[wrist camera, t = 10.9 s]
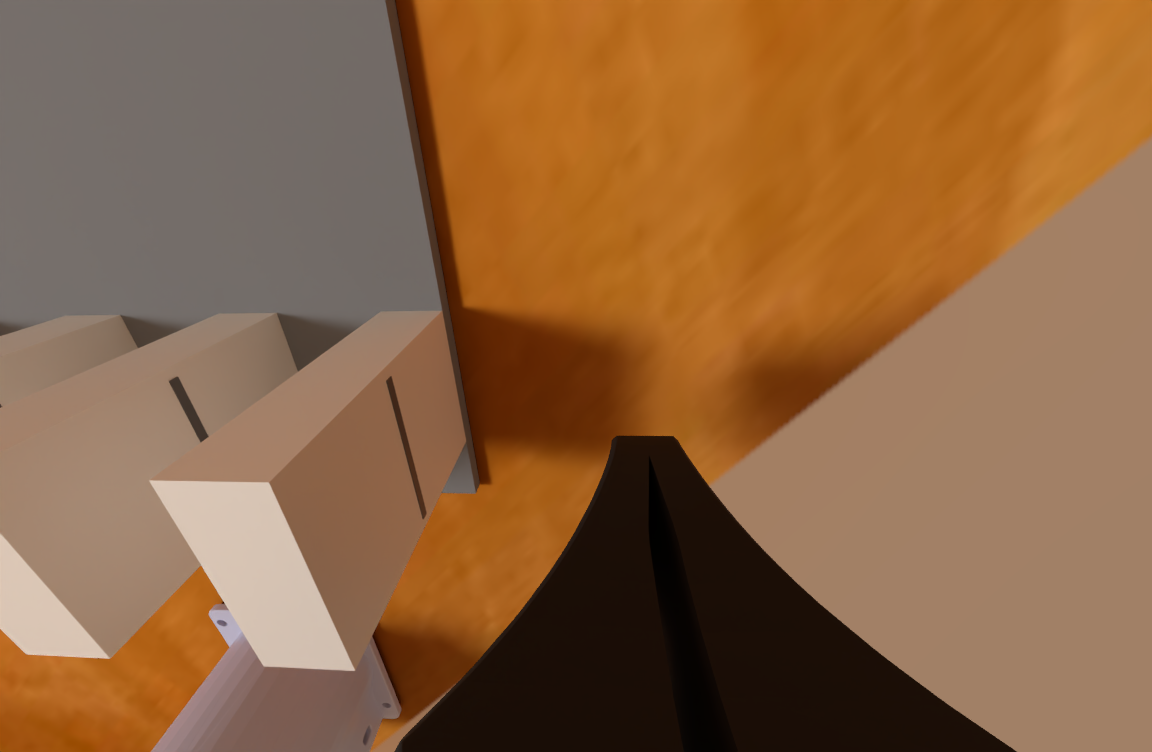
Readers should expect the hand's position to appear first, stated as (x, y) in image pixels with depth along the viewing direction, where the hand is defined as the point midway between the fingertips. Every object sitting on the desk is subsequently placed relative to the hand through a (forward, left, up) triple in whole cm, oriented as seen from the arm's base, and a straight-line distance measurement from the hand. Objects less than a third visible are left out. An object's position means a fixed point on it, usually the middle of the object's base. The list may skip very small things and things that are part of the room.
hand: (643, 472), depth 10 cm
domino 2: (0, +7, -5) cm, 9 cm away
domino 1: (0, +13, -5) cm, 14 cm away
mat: (+3, +19, -6) cm, 20 cm away
